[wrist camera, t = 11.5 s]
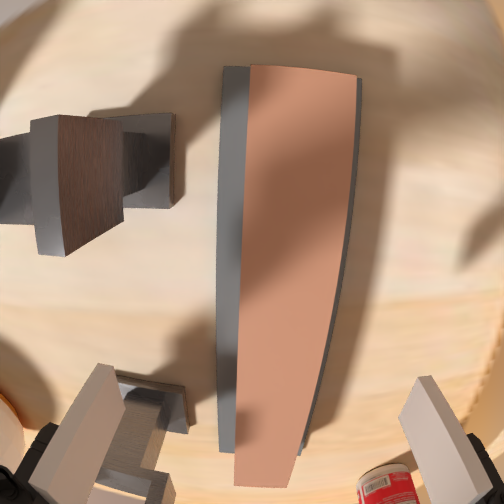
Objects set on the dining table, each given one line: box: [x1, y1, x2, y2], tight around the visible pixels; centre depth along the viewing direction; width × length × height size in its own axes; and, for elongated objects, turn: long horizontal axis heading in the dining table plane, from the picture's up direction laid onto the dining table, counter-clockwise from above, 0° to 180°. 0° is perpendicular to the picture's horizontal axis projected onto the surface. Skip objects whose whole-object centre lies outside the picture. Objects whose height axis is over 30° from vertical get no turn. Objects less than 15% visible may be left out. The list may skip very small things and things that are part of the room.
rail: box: [234, 65, 357, 488], centre depth 16 cm, size 4×26×4 cm, turn 177°
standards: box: [0, 113, 190, 504], centre depth 14 cm, size 7×23×11 cm, turn 177°
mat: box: [216, 66, 362, 456], centre depth 18 cm, size 7×28×1 cm, turn 177°
